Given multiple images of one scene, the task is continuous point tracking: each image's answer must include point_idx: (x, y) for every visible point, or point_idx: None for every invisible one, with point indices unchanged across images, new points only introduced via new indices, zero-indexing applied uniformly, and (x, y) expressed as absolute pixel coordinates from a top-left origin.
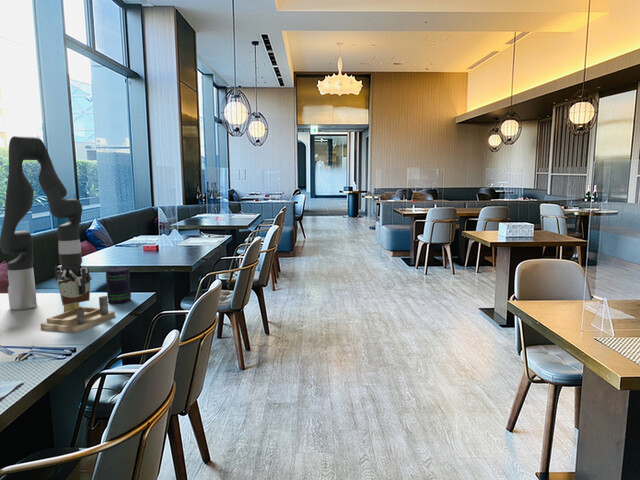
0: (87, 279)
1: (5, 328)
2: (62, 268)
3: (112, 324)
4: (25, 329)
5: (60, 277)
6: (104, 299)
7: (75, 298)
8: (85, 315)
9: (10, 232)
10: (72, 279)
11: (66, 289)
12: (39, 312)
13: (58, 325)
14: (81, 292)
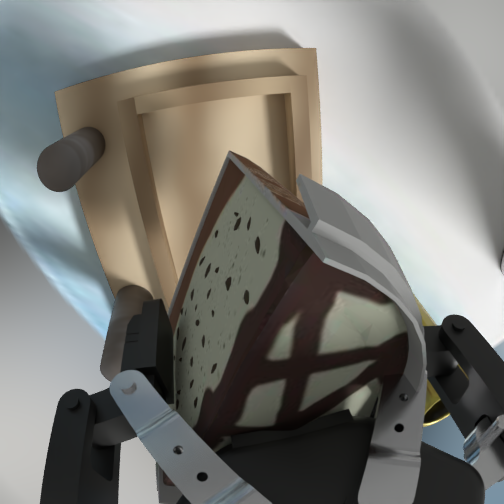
0: (98, 454)
1: (454, 37)
2: (459, 496)
3: (38, 250)
4: (374, 33)
5: (420, 370)
6: (102, 357)
7: (194, 261)
8: (144, 222)
9: None
10: (212, 414)
11: (230, 255)
12: (470, 231)
13: (182, 62)
14: (141, 320)
